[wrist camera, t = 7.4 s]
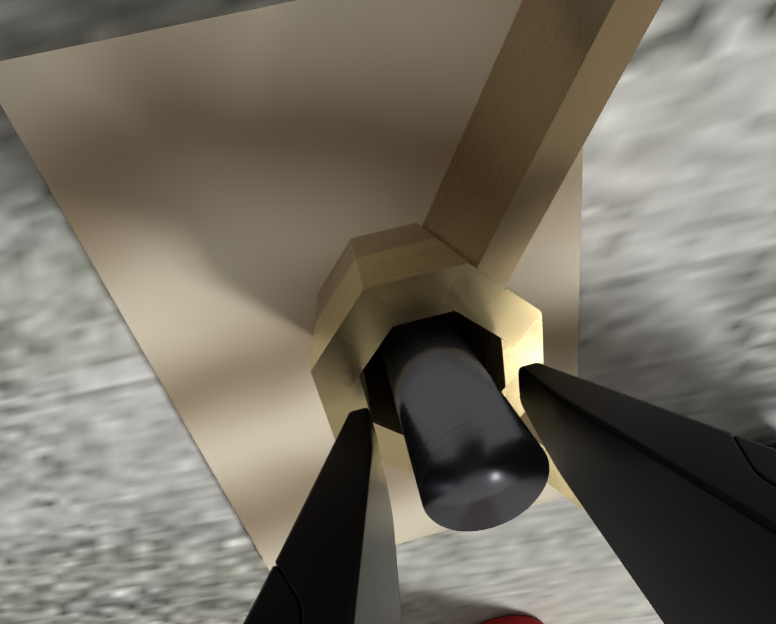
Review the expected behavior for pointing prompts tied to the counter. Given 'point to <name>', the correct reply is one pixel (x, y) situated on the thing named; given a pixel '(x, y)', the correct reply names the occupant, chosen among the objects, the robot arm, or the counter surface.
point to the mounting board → (271, 206)
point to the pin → (460, 429)
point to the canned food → (513, 620)
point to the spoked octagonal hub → (478, 218)
